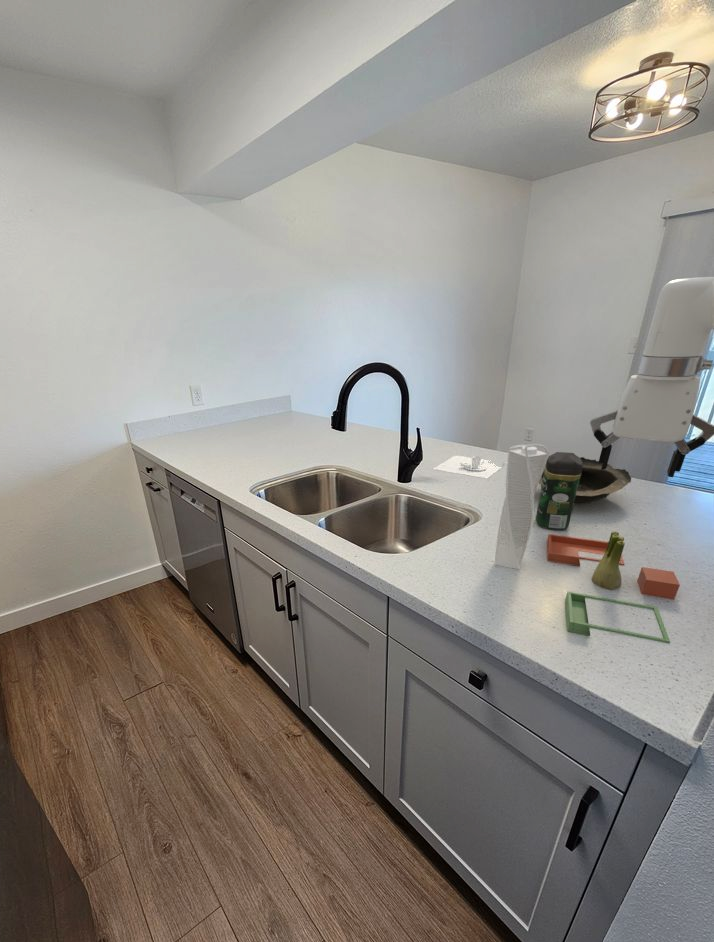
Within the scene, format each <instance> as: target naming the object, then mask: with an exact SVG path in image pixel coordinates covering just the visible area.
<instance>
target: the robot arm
mask: <svg viewBox="0 0 714 942" xmlns="http://www.w3.org/2000/svg"><path fill="white" fill-rule="evenodd" d="M712 330H714V276H701V277H688V278H687V277H686V278H678V279H674V280H670V281H669V282H667V283H665V284H664V286H662V289H661V290H660V291H659V295H658V297H657V301H656V305H655V309H654V313H653V316H652V320H651V323H650V326H649V331H648V334H647V337H646V341H645V344H644V348H643V352H642V356H641V359H640V362H639V366H638V370H637V373H636V374H633V375H631V376H630V377H629V380H628V382H627V383H626V386H625V388H624V391H623V393H622V396H621V397H620V398H621V399H620V402H619V404H618V408H617V409H616V410H613V411H611V412H608V413H605V414H602V415H599V416H595V417H593V418H591V419H590V422H589V424H590V427H591V430H592V434H593V436H594V438H595V439H596V440H597V441H598V443H599V444H600V445H601V451H600V455H599V458H598V461H599V462H598V463H603V464H602V468H601V469H604V470H605V469H606V467H607V464H608V463H609V460H610V457H611V452H612V448H613V444H614V443H615V442H616V441H619V439H629V440H637V441H638V440H640V441H651V442H652V441H653V442H664V443H665V442H666V443H673V444H674V445H675V446H676V449H675V450H673V452H672V456H671V459H670V462H669V465H668V468H667V471H666V474H667V477H668V478H674V476H675V473H676V472H678V473H680V472H681V469H682V466H683V464H684V462H685V459H686V455H689V454H690V452H692V451H694V450H697V449H698V448H700V447H702V446H704V445H705V443H706V442H707V441H708V440H710V439H711V438H712V437H713V436H714V424H712V423H710V422H708V421H707V420H705V419H703V418H701V417H699V416H698V415H695V409H696V406H697V401H698V395H699V391H700V384H701V377H700V376H697V375H698V373H700V372H701V371H705V370H711V369H712V366H713V363H714V360H711V359H710V360H709V359H707V358H706V359H705V358H704V356H703V355H704V353H705V349H706V347H707V344H708V342H709V341H708V340H709V337H710V335H711V332H712ZM611 421H613V426H612V428H613V429H612V431H611V432H610V433H609V434H606V433H605V432H604V430H603V429H602V426H601V425H602V424H606V423H608V422H611ZM690 426H693V427H694V428H697V429H698V430H700V431H701V433H700V434H699V435H698V436H696V437H694V438H692V439H690V440H689V441H686V439H685V438H686V437H687V435H688V432H689V429H690Z"/></svg>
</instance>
